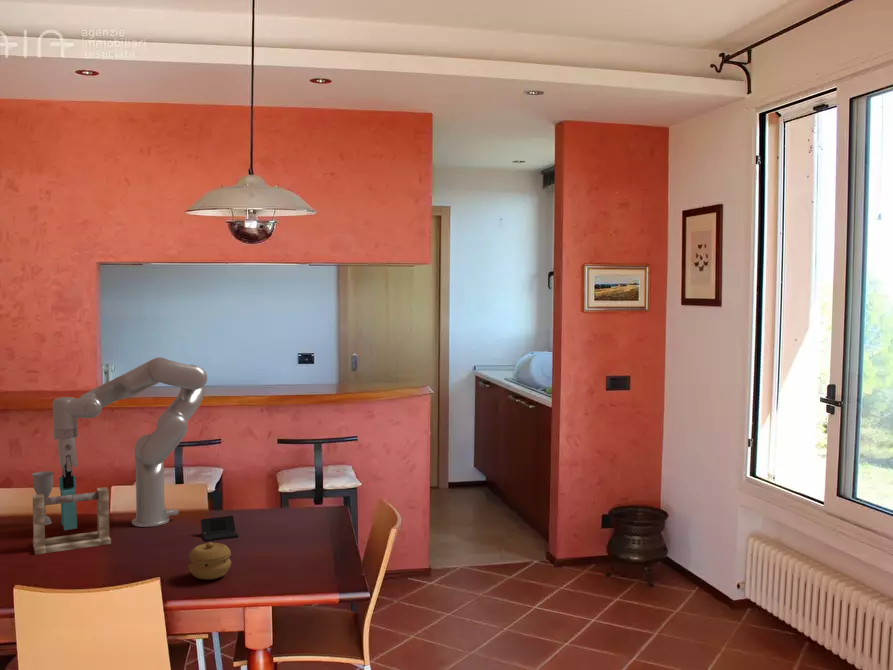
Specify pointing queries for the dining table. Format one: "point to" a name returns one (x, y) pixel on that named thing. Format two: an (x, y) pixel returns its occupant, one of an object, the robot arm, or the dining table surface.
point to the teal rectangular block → (68, 507)
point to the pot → (209, 560)
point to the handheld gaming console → (218, 528)
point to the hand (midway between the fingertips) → (68, 486)
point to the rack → (101, 534)
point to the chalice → (43, 487)
